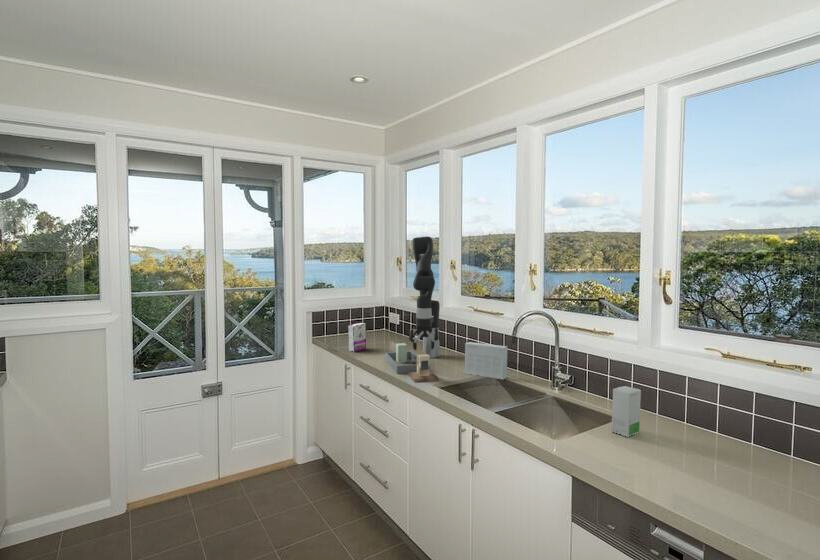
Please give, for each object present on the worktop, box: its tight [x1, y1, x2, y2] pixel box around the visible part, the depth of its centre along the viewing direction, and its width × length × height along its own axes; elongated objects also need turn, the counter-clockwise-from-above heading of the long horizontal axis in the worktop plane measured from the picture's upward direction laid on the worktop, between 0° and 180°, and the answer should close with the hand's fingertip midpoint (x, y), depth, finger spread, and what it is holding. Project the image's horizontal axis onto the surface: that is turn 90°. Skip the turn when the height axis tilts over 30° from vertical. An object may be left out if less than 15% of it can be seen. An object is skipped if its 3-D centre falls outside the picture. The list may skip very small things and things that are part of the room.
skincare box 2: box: [610, 385, 642, 438], centre depth 161 cm, size 8×7×16 cm
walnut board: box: [407, 370, 439, 383], centre depth 226 cm, size 12×12×2 cm
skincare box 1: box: [464, 341, 508, 381], centre depth 231 cm, size 21×5×16 cm, turn 59°
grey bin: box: [384, 350, 417, 374], centre depth 249 cm, size 16×30×4 cm, turn 15°
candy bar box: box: [347, 322, 367, 353], centre depth 284 cm, size 11×5×16 cm, turn 143°
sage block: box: [395, 342, 408, 364], centre depth 257 cm, size 5×5×10 cm
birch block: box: [416, 353, 431, 376], centre depth 226 cm, size 5×5×10 cm
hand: (423, 349), depth 225 cm, fingers open, 8 cm apart
